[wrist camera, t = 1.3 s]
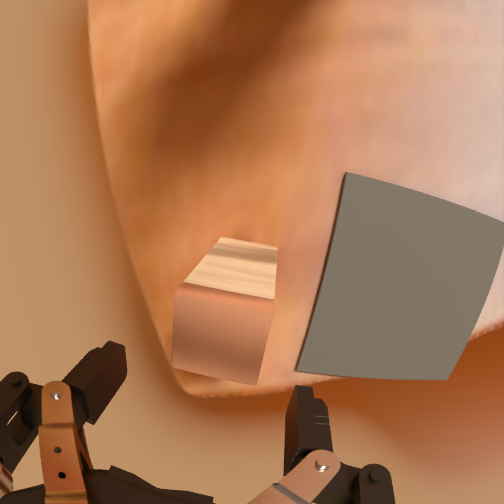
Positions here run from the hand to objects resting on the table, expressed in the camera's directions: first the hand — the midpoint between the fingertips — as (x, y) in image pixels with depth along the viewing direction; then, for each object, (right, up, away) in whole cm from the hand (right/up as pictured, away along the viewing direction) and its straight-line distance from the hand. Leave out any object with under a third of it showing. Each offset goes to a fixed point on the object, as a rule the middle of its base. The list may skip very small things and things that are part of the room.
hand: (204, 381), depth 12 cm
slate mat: (+18, +1, +13) cm, 23 cm away
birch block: (+2, +4, +14) cm, 15 cm away
